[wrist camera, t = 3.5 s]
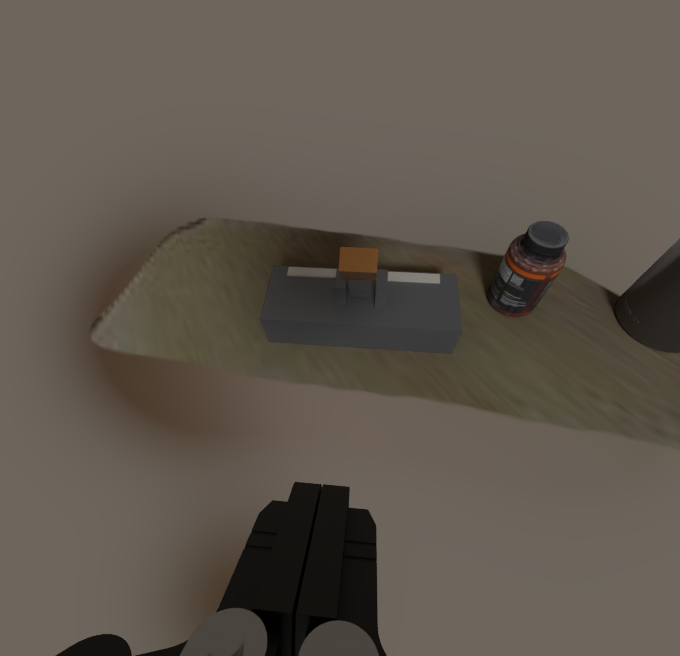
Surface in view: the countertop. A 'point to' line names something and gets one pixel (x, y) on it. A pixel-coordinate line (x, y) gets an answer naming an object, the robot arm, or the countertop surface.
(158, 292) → the countertop surface
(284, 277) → the block
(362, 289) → the lever
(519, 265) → the supplement bottle
